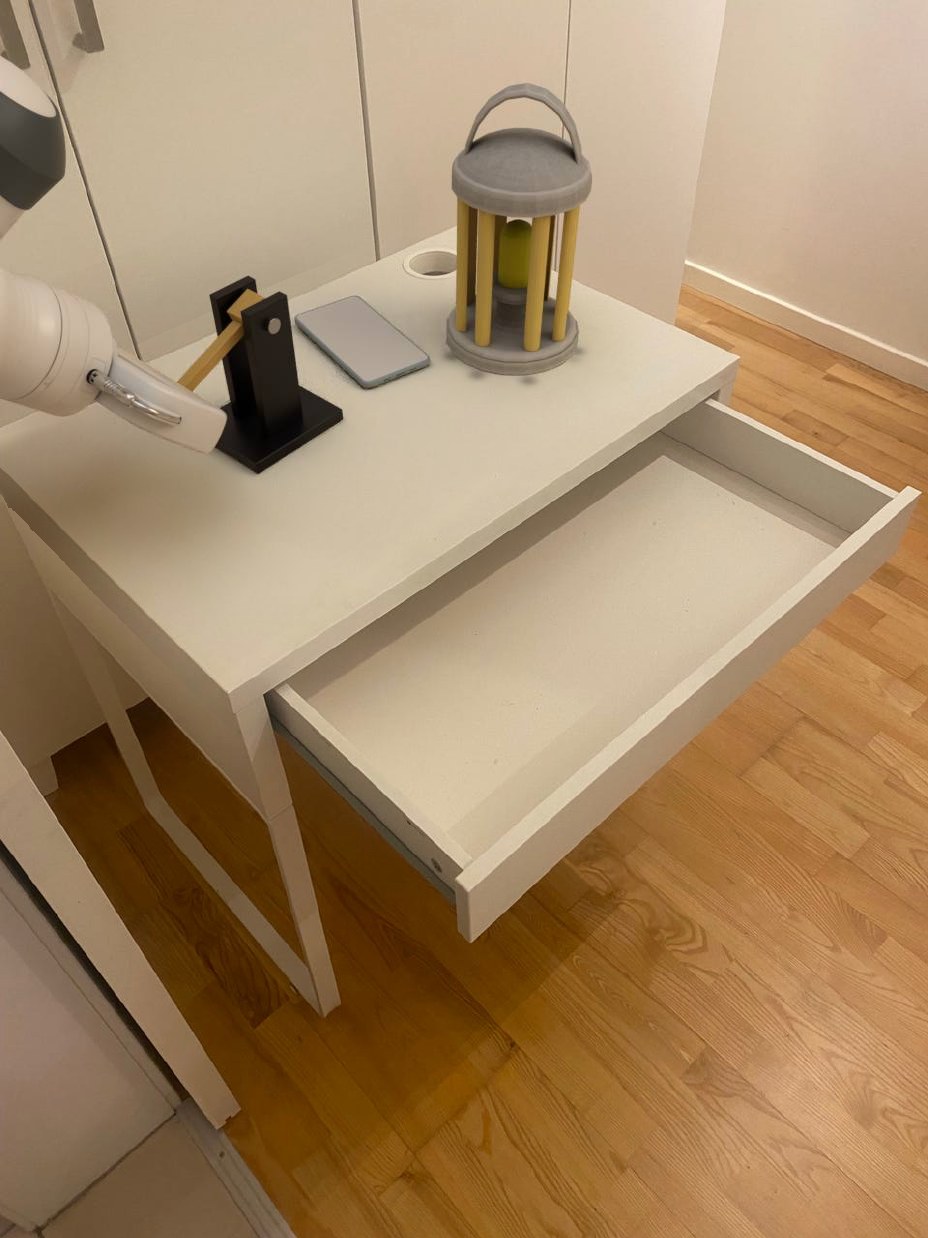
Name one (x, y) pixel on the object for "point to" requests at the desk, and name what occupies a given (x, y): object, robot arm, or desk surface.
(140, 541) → the desk surface
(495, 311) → the lantern
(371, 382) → the smartphone
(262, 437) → the switch bracket
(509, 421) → the desk surface
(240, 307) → the lever
